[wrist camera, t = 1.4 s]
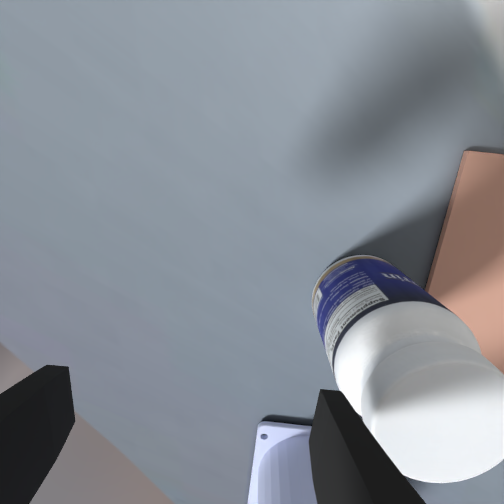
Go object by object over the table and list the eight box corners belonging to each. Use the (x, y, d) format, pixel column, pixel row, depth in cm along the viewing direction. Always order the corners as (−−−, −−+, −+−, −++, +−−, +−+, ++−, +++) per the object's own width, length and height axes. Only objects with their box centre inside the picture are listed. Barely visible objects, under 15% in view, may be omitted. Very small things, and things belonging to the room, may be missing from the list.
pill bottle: (423, 294, 19) (584, 428, 9) (353, 353, 20) (434, 523, 11) (359, 232, 18) (467, 312, 9) (290, 298, 19) (317, 431, 10)
